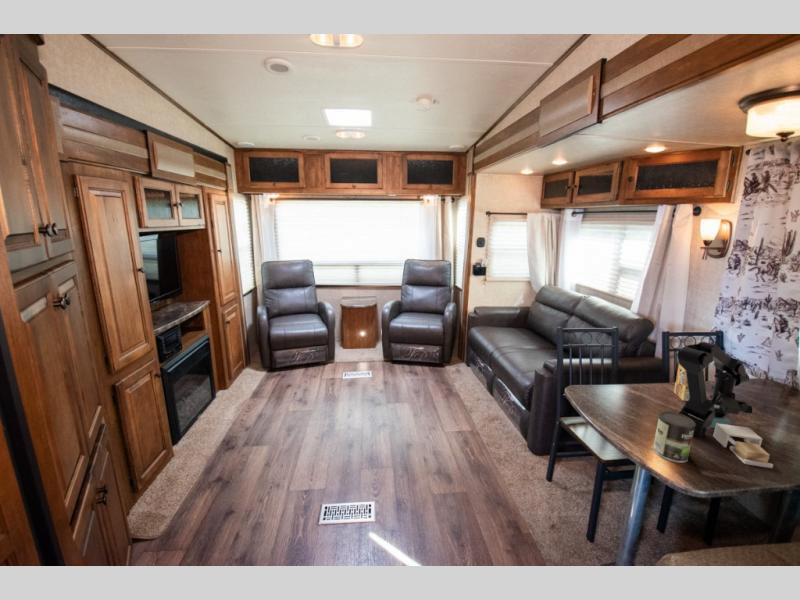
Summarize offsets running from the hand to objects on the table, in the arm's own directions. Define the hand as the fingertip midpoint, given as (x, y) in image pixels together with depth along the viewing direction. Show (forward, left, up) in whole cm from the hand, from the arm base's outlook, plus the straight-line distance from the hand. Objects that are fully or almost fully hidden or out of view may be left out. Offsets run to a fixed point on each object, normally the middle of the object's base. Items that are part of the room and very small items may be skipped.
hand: (715, 422), depth 139 cm
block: (0, -21, -1) cm, 21 cm away
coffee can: (-25, -24, -3) cm, 35 cm away
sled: (0, -13, -2) cm, 14 cm away
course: (0, -13, -2) cm, 13 cm away
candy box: (0, +27, -3) cm, 27 cm away
